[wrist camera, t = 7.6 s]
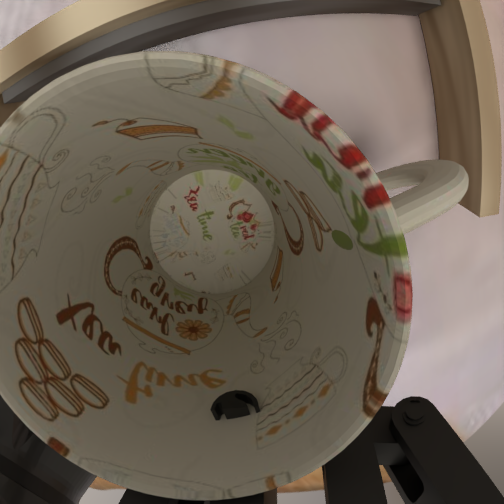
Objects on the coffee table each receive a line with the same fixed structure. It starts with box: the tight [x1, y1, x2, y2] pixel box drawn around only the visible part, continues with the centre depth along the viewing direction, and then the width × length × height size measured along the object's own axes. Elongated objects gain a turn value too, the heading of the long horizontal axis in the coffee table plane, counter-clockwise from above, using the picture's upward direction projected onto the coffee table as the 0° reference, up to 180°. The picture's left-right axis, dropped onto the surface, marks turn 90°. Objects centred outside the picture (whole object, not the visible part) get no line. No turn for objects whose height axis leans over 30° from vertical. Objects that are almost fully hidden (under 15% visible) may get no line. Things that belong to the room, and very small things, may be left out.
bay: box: [0, 0, 501, 217], centre depth 11 cm, size 21×11×4 cm, turn 101°
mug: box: [0, 51, 469, 500], centre depth 9 cm, size 8×13×10 cm, turn 114°
